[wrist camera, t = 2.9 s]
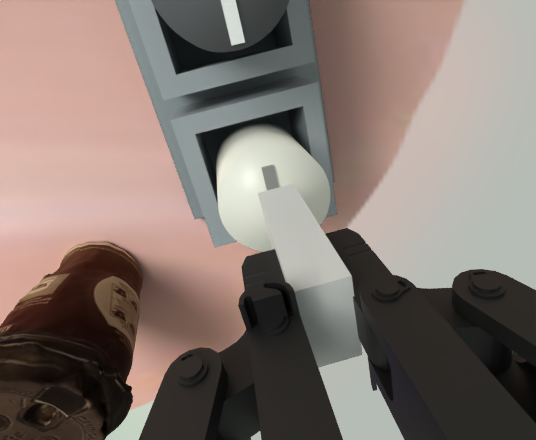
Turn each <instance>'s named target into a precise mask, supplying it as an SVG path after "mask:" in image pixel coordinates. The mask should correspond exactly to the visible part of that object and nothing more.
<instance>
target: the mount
mask: <svg viewBox="0 0 536 440" xmlns="http://www.w3.org/2000/svg"><path fill="white" fill-rule="evenodd" d="M115 2H116V5H117V8H118V10H119V13H120V16H121V18H122V21H123V24H124V27H125V29H126V32H127V35H128V38H129V40H130V43H131V46H132V49H133V51H134V54H135V57H136V60H137V62H138V65H139V68H140V71H141V73H142V76H143V79H144V82H145V84H146V87H147V90H148V93H149V95H150V98H151V101H152V103H153V106H154V109H155V112H156V114H157V117H158V120H159V123H160V125H161V128H162V131H163V134H164V136H165V139H166V142H167V145H168V147H169V150H170V153H171V156H172V158H173V161H174V164H175V167H176V169H177V172H178V175H179V178H180V180H181V183H182V186H183V189H184V191H185V194H186V197H187V199H188V202H189V205H190V208H191V210H192V213H193V216H194V219H199V218H202V217H204V218H205V221H206V224H207V227H208V230H209V233H210V235H211V238H212V241H213V244H214V247H219V246H223V245H226V244H230V243H234V242H237V241H236V240H235V239H234V238H233V237H232V236H231V235H230V234H229V233H228V231H227V230H226V229H225V227H224V225H223V223H222V221H221V218H220V215H219V210H218V196H217V174H216V159H217V154H218V150H219V148H220V146H221V144H222V142H223V141H224V139H225V138H226V137H227V136H228V134H229V133H231V132H232V131H233V130H234V129H236V128H237V127H239V126H241V125H244V124H247V123H250V122H258V121H262V122H269V123H273V124H275V125H278V126H280V127H281V128H283V129H284V130H286V131H287V132H288V133H289V134H290V135H291V136H292V137H293V138H294V139H295V140H296V141H297V142H298V143H299V144H300V145H301V146H302V147H303V148H304V149H305V150H306V151H307V152H308V153H309V154H310V155H311V156H312V157H313V158H314V159H315V160H316V161H317V162H318V163H319V165H320V166H321V167H322V169H323V170H324V172H325V174H326V176H327V179H328V181H329V186H330V205H329V209H328V212H327V215H326V217H329V216H333V215H336V214H337V209H336V202H335V195H334V188H333V182H334V174H333V167H332V160H331V153H330V146H329V139H328V132H327V125H326V118H325V111H324V104H323V97H322V90H321V83H320V76H319V69H318V62H317V54H316V47H315V40H314V33H313V26H312V19H311V12H310V5H309V0H289V3H288V6H287V8H286V10H285V12H284V14H283V16H282V17H281V19H280V21H279V22H278V24H277V25H276V26H275V27H274V28H273V30H272V31H271V32H270V33H269V34H268V35H267V36H265V37H264V38H263V39H262V40H260V41H259V42H257V43H255V44H253V45H252V46H250V47H247V48H244V49H241V50H237V51H231V52H222V53H218V52H210V51H207V50H204V49H201V48H199V47H197V46H195V45H194V44H192V43H190V42H188V41H187V40H185V39H183V38H182V37H181V36H179V35H178V34H177V33H176V32H175V31H174V30H173V29H171V28H170V27H169V26H168V24H167V23H166V22H165V21H164V20H163V18H162V17H161V16H160V14H159V13H158V11H157V10H156V8H155V7H154V5H153V3H152V1H151V0H115Z"/></svg>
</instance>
